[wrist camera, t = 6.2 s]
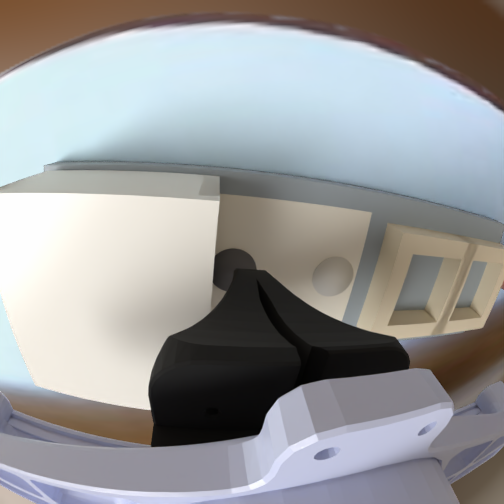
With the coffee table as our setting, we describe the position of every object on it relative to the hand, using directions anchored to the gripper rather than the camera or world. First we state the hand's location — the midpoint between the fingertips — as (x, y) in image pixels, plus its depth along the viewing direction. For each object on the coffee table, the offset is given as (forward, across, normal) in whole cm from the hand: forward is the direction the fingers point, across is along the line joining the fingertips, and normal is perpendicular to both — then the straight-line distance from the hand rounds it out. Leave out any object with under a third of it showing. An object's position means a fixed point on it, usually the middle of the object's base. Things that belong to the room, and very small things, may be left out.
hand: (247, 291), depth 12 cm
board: (+3, -4, 0) cm, 5 cm away
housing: (+2, +6, 0) cm, 6 cm away
